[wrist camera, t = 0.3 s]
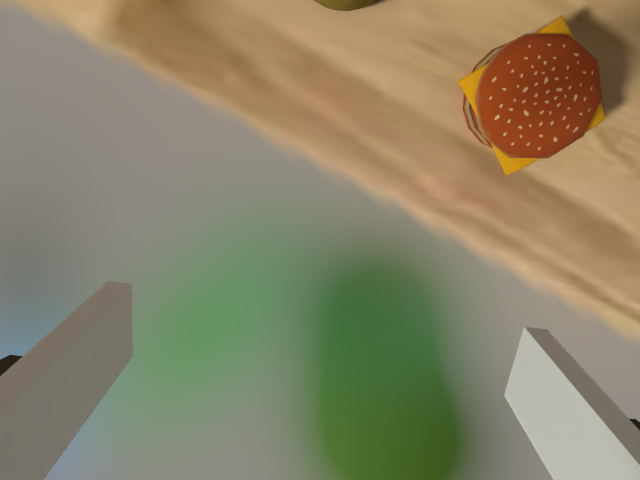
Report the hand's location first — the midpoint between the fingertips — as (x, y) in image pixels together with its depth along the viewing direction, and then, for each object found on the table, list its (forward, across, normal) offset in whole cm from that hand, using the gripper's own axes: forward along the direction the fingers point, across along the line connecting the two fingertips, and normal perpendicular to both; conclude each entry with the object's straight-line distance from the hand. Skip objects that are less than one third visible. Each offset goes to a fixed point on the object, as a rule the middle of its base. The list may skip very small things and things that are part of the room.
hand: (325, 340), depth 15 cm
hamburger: (+28, +15, +9) cm, 33 cm away
